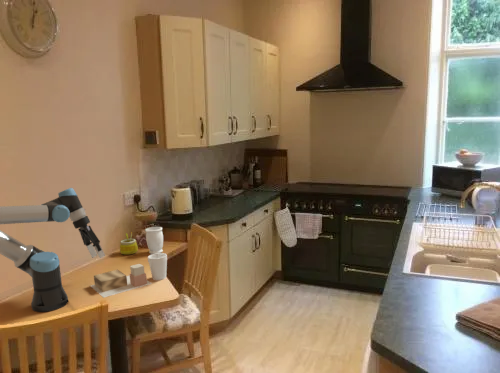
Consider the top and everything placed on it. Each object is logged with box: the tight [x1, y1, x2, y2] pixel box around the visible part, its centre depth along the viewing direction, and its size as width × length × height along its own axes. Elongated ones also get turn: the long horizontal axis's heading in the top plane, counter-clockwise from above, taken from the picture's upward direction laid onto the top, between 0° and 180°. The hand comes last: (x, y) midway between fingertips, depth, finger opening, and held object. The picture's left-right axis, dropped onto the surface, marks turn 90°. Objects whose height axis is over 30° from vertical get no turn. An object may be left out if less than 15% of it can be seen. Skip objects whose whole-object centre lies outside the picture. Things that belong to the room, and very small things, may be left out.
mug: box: [119, 231, 139, 256], centre depth 272 cm, size 13×11×12 cm
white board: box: [90, 274, 153, 299], centre depth 214 cm, size 24×20×2 cm
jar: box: [144, 226, 164, 255], centre depth 269 cm, size 11×10×15 cm
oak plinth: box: [93, 269, 127, 292], centre depth 213 cm, size 12×12×5 cm
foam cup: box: [147, 252, 168, 281], centre depth 219 cm, size 10×9×13 cm
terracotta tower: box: [129, 263, 148, 287], centre depth 213 cm, size 6×6×9 cm
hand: (98, 256), depth 217 cm, fingers open, 13 cm apart
